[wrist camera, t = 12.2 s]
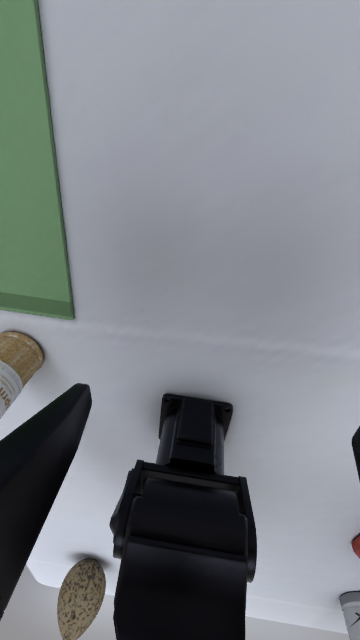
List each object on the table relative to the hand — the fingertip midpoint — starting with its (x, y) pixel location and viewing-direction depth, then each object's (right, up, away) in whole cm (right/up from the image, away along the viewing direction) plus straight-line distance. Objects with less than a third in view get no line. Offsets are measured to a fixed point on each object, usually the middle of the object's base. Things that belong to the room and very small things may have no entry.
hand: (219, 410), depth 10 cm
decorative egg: (-17, -39, +42) cm, 60 cm away
